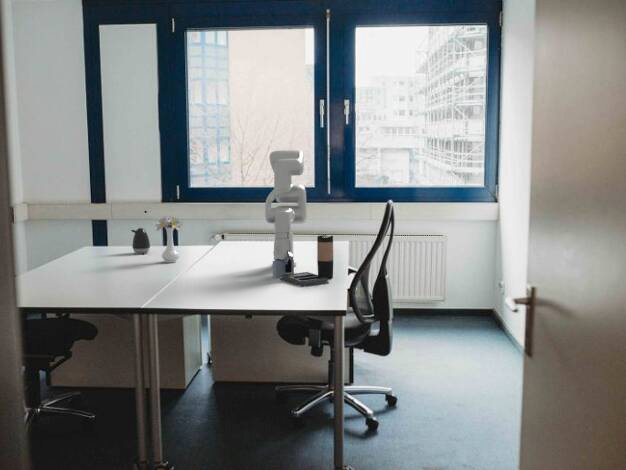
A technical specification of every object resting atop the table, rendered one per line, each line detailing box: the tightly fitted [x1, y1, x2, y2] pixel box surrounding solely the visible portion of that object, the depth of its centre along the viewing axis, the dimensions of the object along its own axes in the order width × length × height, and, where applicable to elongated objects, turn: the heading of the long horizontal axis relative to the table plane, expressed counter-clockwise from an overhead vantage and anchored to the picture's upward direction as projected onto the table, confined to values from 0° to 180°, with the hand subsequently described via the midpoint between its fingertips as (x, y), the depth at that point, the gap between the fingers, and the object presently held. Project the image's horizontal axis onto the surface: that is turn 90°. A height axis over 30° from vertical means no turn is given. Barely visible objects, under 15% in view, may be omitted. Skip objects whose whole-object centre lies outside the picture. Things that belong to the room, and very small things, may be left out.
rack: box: [280, 271, 330, 288], centre depth 319 cm, size 20×14×3 cm
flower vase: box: [155, 216, 183, 264], centre depth 374 cm, size 13×18×25 cm
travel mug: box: [316, 234, 334, 280], centre depth 326 cm, size 8×8×20 cm
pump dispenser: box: [130, 227, 151, 255], centre depth 403 cm, size 10×10×15 cm
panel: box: [272, 259, 295, 279], centre depth 331 cm, size 3×10×8 cm, turn 122°
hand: (283, 270), depth 331 cm, fingers open, 9 cm apart
